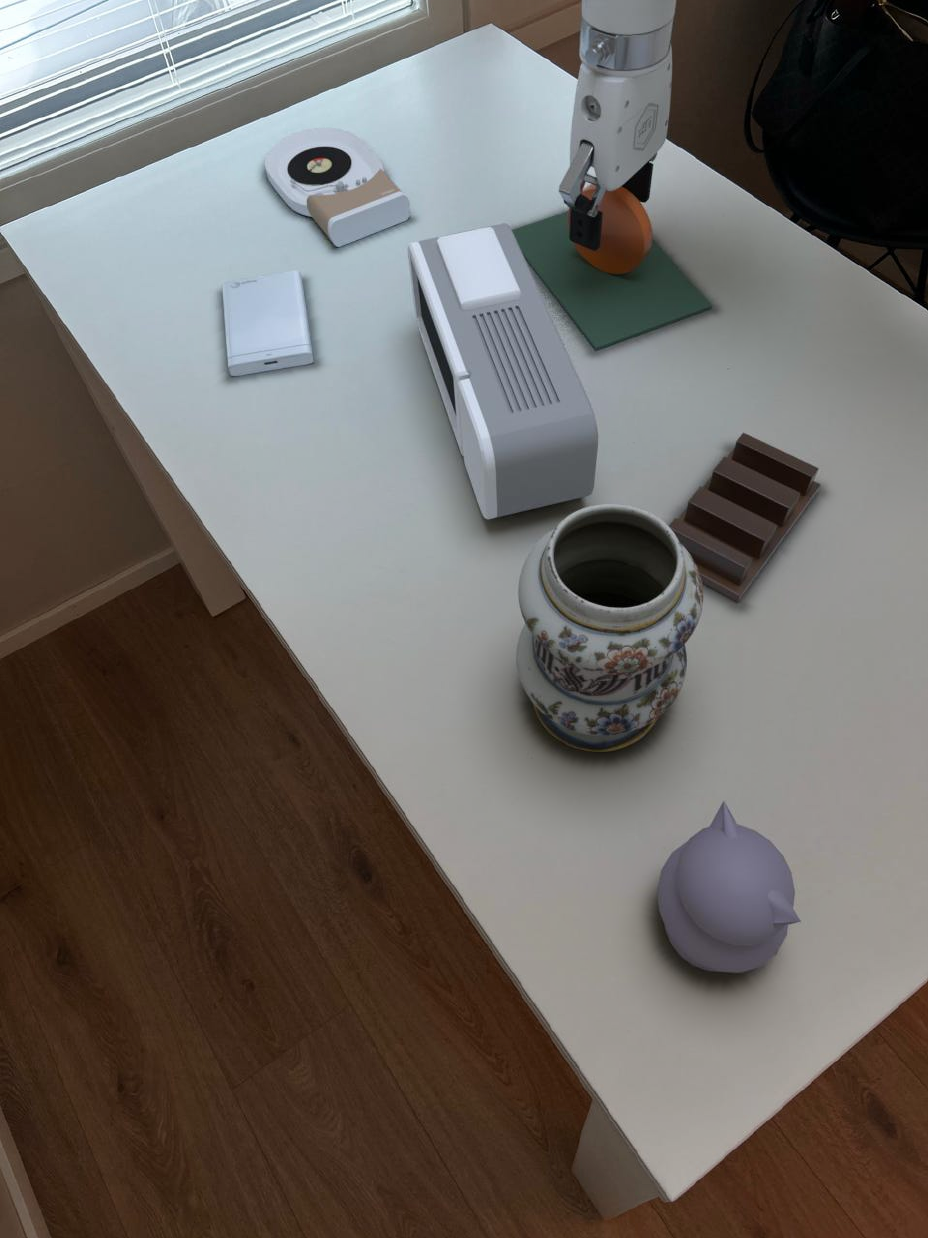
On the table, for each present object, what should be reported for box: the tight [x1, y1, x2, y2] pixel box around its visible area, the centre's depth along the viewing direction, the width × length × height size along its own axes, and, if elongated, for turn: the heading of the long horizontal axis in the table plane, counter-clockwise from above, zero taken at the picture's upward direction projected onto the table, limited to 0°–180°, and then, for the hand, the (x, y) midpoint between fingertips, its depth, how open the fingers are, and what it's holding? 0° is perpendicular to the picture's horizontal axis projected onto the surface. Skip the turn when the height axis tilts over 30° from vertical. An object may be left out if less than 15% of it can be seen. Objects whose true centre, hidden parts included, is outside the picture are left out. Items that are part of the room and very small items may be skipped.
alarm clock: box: [407, 222, 599, 520], centre depth 85 cm, size 27×9×12 cm, turn 14°
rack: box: [668, 432, 821, 603], centre depth 80 cm, size 14×8×4 cm, turn 143°
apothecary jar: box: [515, 503, 704, 753], centre depth 66 cm, size 12×12×18 cm
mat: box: [511, 210, 713, 351], centre depth 99 cm, size 20×13×1 cm, turn 24°
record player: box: [264, 127, 411, 248], centre depth 108 cm, size 12×3×20 cm
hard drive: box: [221, 269, 314, 377], centre depth 97 cm, size 2×8×12 cm
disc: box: [567, 183, 653, 274], centre depth 95 cm, size 2×9×9 cm, turn 53°
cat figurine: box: [657, 800, 802, 974], centre depth 59 cm, size 8×8×12 cm
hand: (609, 219), depth 94 cm, fingers open, 8 cm apart
